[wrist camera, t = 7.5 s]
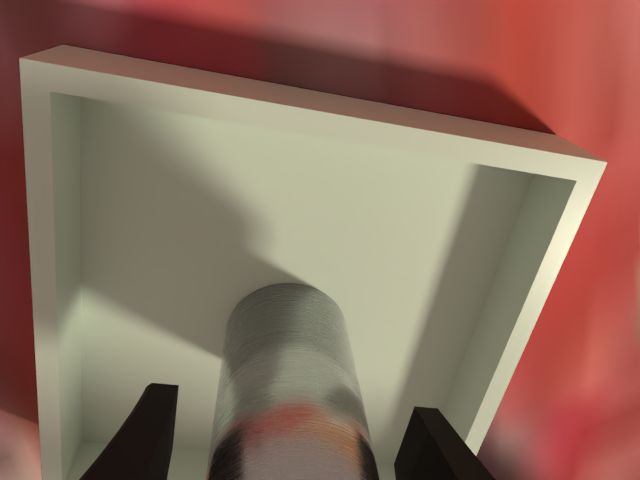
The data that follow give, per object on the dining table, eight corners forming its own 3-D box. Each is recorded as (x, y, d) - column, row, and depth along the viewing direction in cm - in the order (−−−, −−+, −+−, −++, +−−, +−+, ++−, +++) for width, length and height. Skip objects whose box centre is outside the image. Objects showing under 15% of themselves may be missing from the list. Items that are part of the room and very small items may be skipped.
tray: (557, 135, 16) (607, 162, 13) (427, 464, 21) (446, 522, 19) (63, 44, 13) (19, 57, 11) (70, 438, 19) (43, 501, 17)
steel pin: (380, 276, 17) (506, 621, 8) (346, 400, 19) (413, 780, 10) (215, 256, 16) (139, 614, 7) (200, 387, 18) (128, 789, 9)
